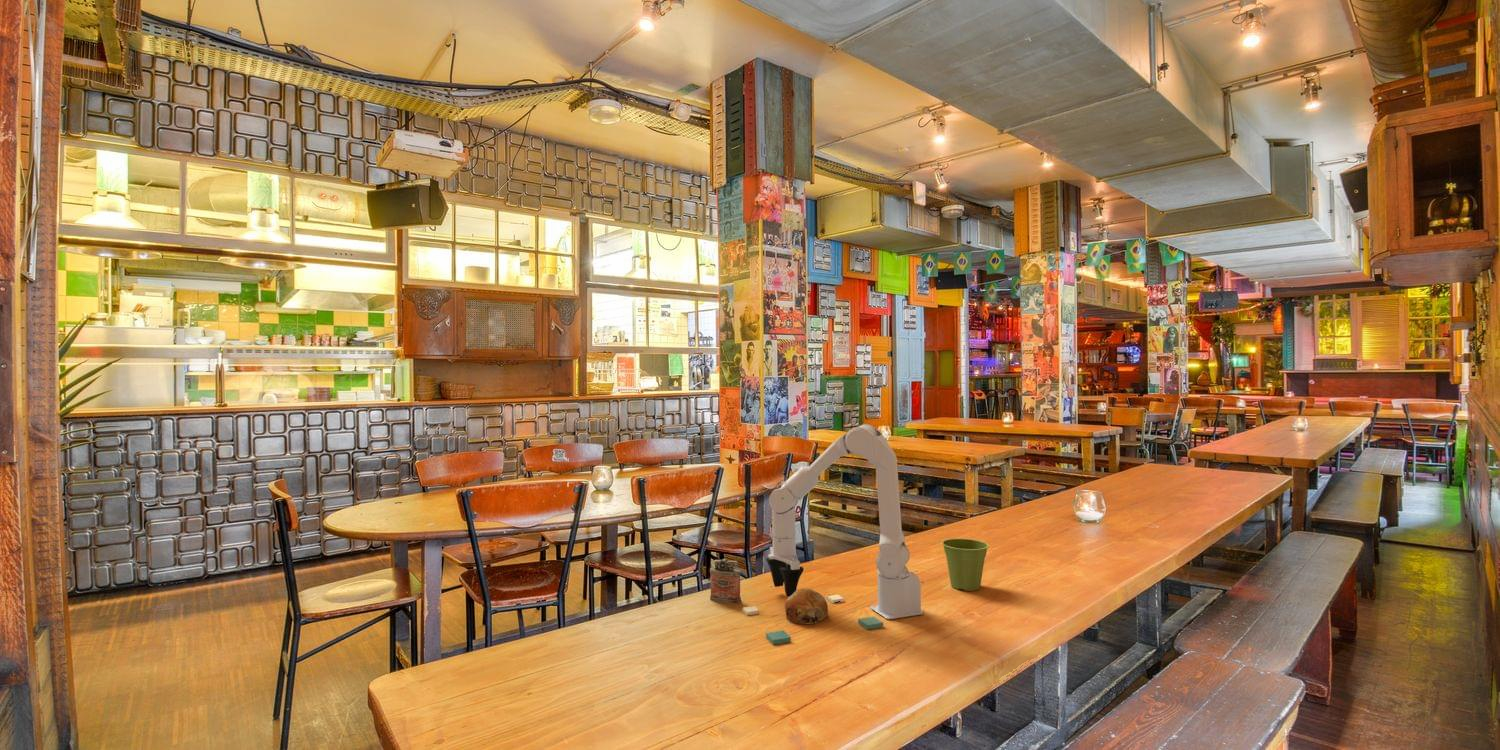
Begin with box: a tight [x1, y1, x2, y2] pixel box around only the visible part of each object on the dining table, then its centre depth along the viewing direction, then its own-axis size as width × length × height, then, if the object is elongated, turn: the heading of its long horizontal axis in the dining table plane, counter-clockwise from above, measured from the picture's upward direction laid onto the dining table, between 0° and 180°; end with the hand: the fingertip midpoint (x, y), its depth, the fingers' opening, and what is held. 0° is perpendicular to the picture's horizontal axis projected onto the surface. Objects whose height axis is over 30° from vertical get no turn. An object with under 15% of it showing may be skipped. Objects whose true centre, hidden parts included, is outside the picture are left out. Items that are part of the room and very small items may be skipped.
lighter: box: [709, 558, 742, 604], centre depth 165 cm, size 8×3×10 cm, turn 68°
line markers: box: [742, 594, 884, 646], centre depth 152 cm, size 26×20×1 cm
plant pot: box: [941, 537, 990, 592], centre depth 174 cm, size 12×12×11 cm
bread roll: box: [784, 588, 829, 625], centre depth 154 cm, size 10×10×8 cm
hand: (784, 590), depth 166 cm, fingers open, 7 cm apart
